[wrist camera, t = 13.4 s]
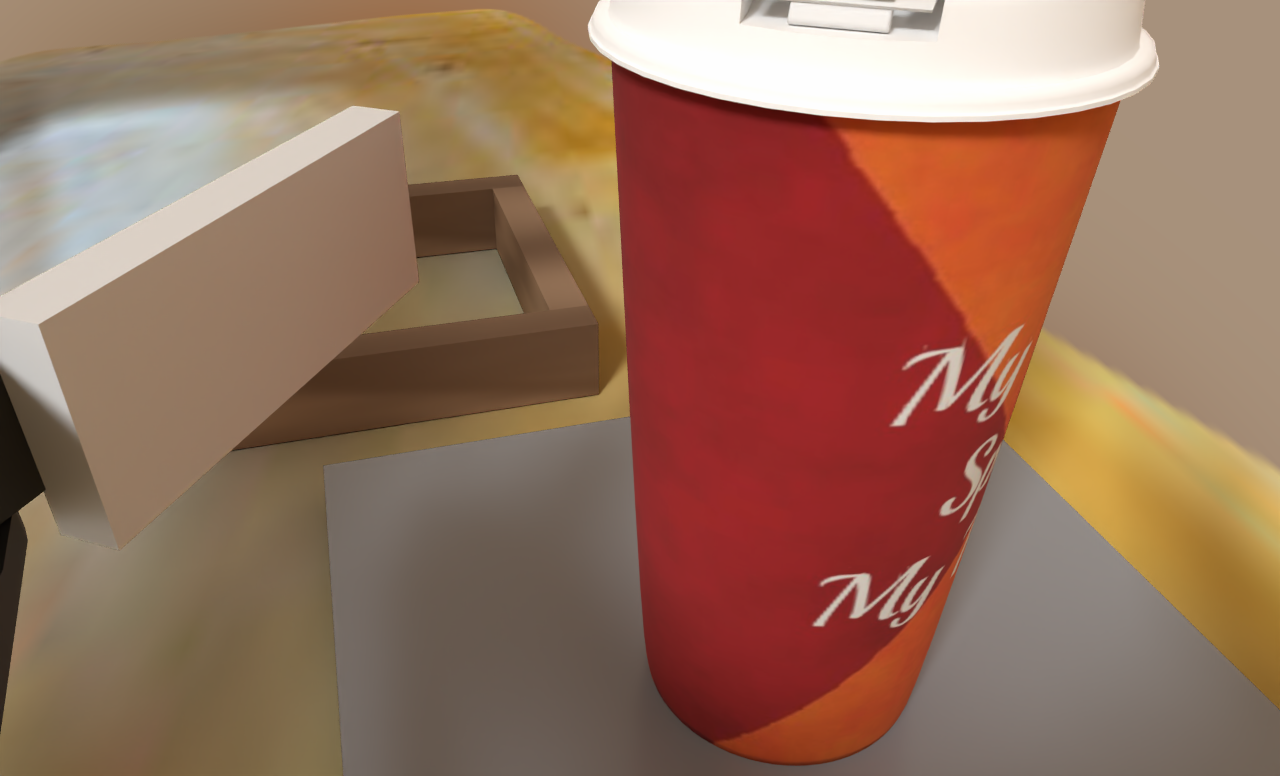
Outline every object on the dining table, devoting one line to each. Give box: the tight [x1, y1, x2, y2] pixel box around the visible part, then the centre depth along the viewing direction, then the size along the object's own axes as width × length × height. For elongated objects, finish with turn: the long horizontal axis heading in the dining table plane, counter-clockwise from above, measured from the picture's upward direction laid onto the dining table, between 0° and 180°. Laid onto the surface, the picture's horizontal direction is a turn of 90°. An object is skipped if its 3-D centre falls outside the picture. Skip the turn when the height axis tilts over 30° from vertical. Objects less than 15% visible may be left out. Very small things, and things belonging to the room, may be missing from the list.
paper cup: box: [588, 0, 1159, 766], centre depth 17 cm, size 8×8×14 cm
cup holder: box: [232, 175, 599, 450], centre depth 34 cm, size 12×12×2 cm
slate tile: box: [323, 417, 1280, 776], centre depth 21 cm, size 18×18×1 cm
